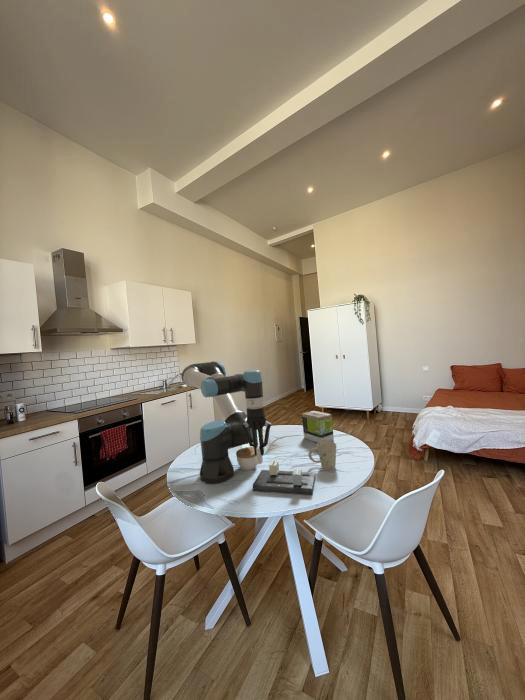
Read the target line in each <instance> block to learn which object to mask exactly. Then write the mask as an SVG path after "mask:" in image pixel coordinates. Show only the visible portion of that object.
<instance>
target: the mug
mask: <svg viewBox="0 0 525 700" xmlns="http://www.w3.org/2000/svg"><path fill="white" fill-rule="evenodd" d="M316 446H317V447H312V448H311V449H310V450H309V452H308V458H309V460H310V461H312V462H313V463H318V464H319V463H320V466H321V468H322V469H323V470H327V471H329V470H334V469H335V468H336V462H337V460H336V459H337V444H336V443H335V442H334V441H323V442H319V443H317V444H316ZM315 451H316V452H317V451H318V456H319V460H315V459H314V458H313V456H312V454H313V452H315Z"/></svg>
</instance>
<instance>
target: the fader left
mask: <svg viewBox="0 0 525 700" xmlns="http://www.w3.org/2000/svg"><path fill="white" fill-rule="evenodd" d="M268 467H269V469H268V470H270V475H277V474H278V472H279V471H280V465H279V461H278V460H271V461H270V463H269V465H268Z"/></svg>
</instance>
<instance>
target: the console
mask: <svg viewBox="0 0 525 700" xmlns="http://www.w3.org/2000/svg"><path fill="white" fill-rule="evenodd" d="M293 472H294V470H279V472H278V474H277V475H270V470H269V469H261V470H260V471H259V473H258V475H257V477H256V478H255V480H254V482H253V484H252V491H253V492H256V493H257V492H258V493H269V494H270V493H271V494H284V495H285V494H287V495H300V496H301V495H302V496H313V495H314V489H315V484H316V471H303V470H302V477H303V481H302V485H293Z"/></svg>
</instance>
